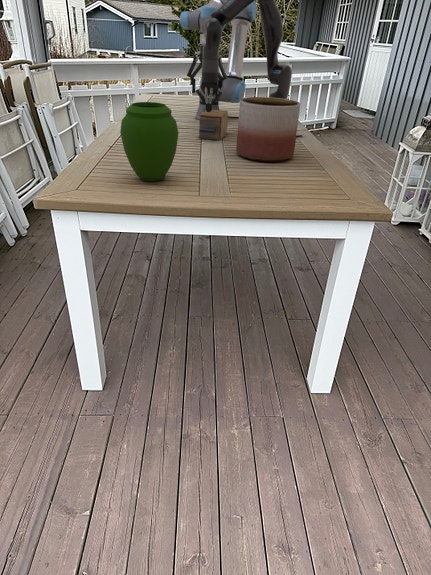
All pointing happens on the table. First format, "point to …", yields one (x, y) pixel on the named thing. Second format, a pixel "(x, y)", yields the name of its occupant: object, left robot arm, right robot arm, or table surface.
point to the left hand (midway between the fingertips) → (206, 94)
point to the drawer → (209, 127)
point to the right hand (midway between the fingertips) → (208, 112)
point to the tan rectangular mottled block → (223, 121)
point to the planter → (267, 128)
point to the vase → (149, 139)
